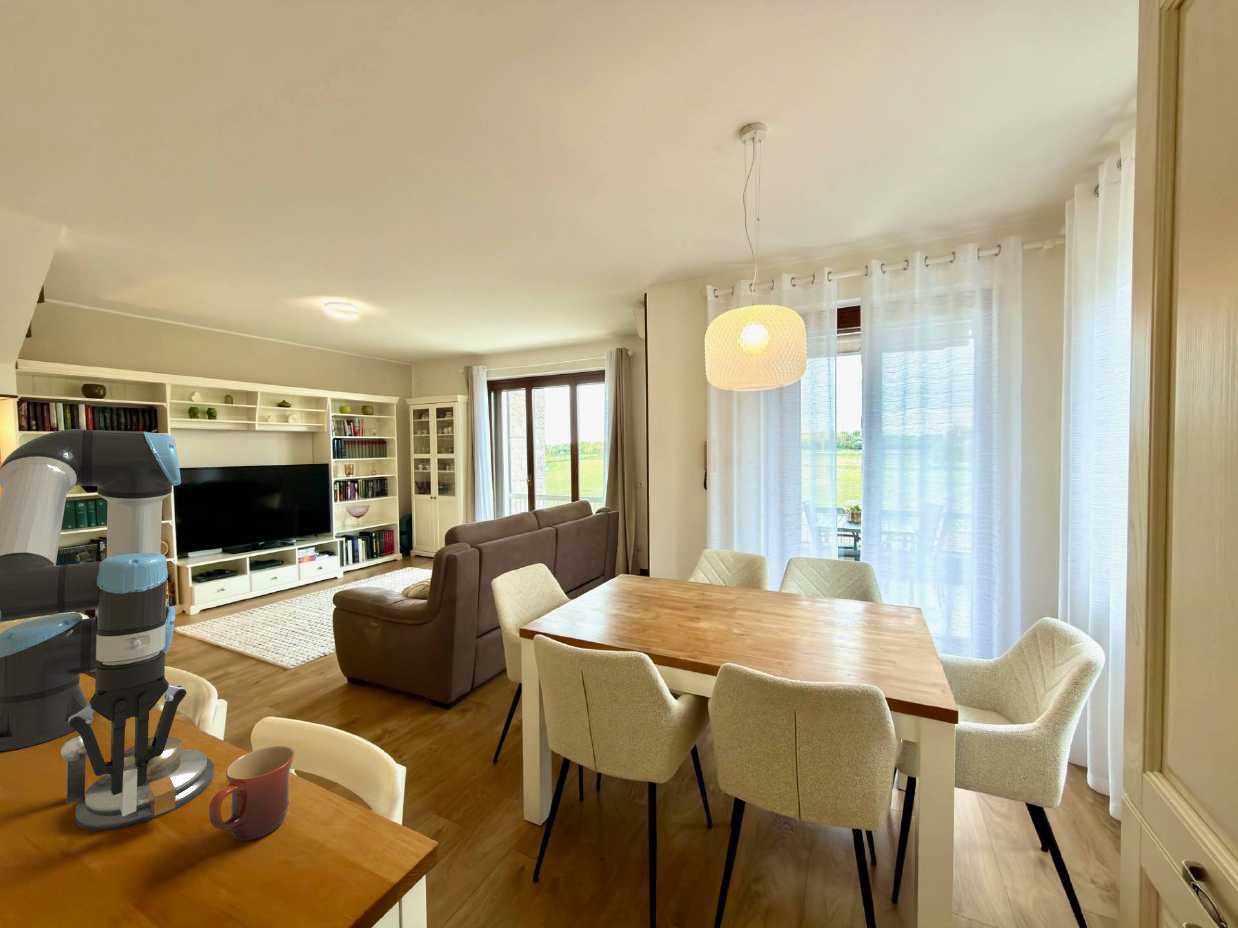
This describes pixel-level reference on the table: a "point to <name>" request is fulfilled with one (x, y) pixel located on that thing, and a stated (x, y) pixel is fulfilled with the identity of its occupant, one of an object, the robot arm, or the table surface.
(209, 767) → the turntable base
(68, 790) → the dial stand
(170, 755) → the cover
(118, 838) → the table surface
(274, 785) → the mug
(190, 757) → the turntable
